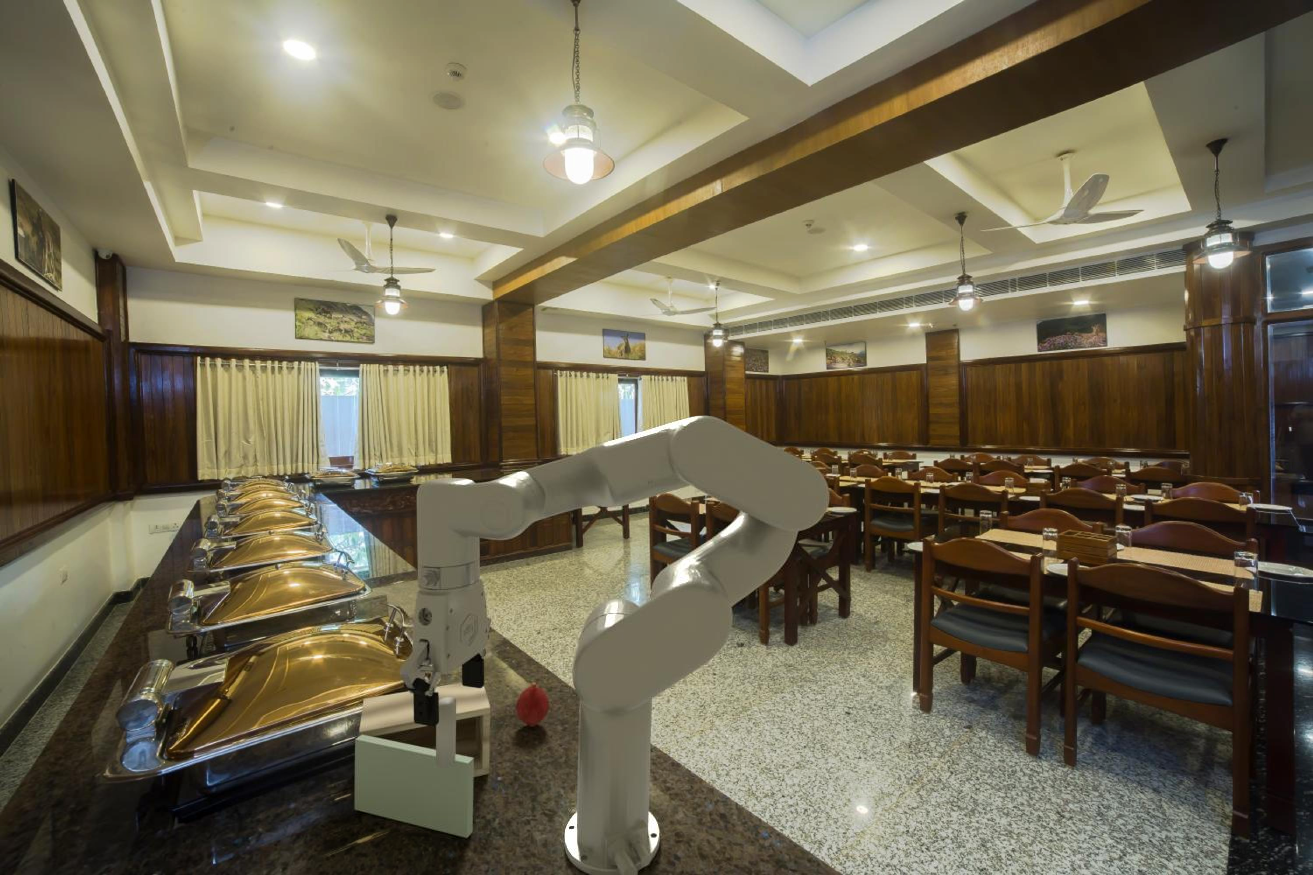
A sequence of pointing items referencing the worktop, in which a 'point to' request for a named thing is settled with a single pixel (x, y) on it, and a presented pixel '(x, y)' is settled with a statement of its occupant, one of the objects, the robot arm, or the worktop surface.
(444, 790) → the cupboard door
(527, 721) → the onion
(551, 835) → the worktop surface
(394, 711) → the cupboard
